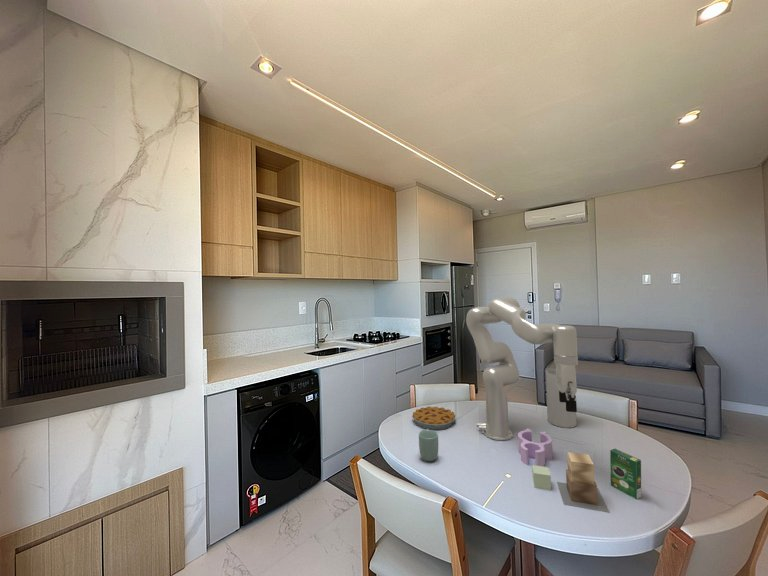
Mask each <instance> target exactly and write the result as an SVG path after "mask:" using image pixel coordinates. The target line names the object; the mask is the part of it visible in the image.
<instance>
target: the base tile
mask: <svg viewBox="0 0 768 576" xmlns="http://www.w3.org/2000/svg"><path fill="white" fill-rule="evenodd" d="M556 485H557V487H558V491H559V494H560V497H561V500H562V503H563V505H564V506H568V507H569V506H570V507H576V508H581V509H586V510H593V511H597V512H601V513H602V512H603V513H609V514H611V511H610V509H609V507H608V506H607V504H606V501H605V500H604V497H603V496H602V494H601V492H600V490H599V487H597V500H598V506H597V505H592V504H586V503H580V502H575V501H571V499H570V496H569V493H568V490H567V484H566V482H560V481H556Z"/></svg>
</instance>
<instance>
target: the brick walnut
mask: <svg viewBox="0 0 768 576" xmlns="http://www.w3.org/2000/svg"><path fill="white" fill-rule="evenodd" d="M565 477H566V478H565V480H566V481H565V483H566V484H567V490H568V493H569V496H570V499H571V501H575V502H580V503H586V504H592V505H597V506H598V500H597V488H598V485H597V482H596V480H594V482H595V484H589V483H583V482H577V481H572V479H571V477H570V474H569V472H568V468H566V470H565Z"/></svg>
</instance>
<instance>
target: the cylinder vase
mask: <svg viewBox="0 0 768 576" xmlns="http://www.w3.org/2000/svg"><path fill="white" fill-rule="evenodd" d="M545 376H546V377H545V383H546V403H547V404H546V407H547V408H546V410H547V411H546V412H547V415H546V417H547V421H548V423H550V424H551V425H553V426H554V427H558V428H564V429H565V428H567V429H568V428H569V429H571V428H574V427H576V426H577V412H567V411H566V403H565V402H560V401H559V389H558V388H557V386H556V369H548V370H546V371H545Z"/></svg>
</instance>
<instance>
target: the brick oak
mask: <svg viewBox="0 0 768 576" xmlns="http://www.w3.org/2000/svg"><path fill="white" fill-rule="evenodd" d="M566 455H567V469H568V472H569V474H570V477H571V479H572V481H577V482H583V483H589V484H595V483H596V481H595V464H594V462H593V460H592V459H591V457H590V455H589V454H586V453H577V452H569V451H567V453H566ZM594 481H595V482H594Z"/></svg>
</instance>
